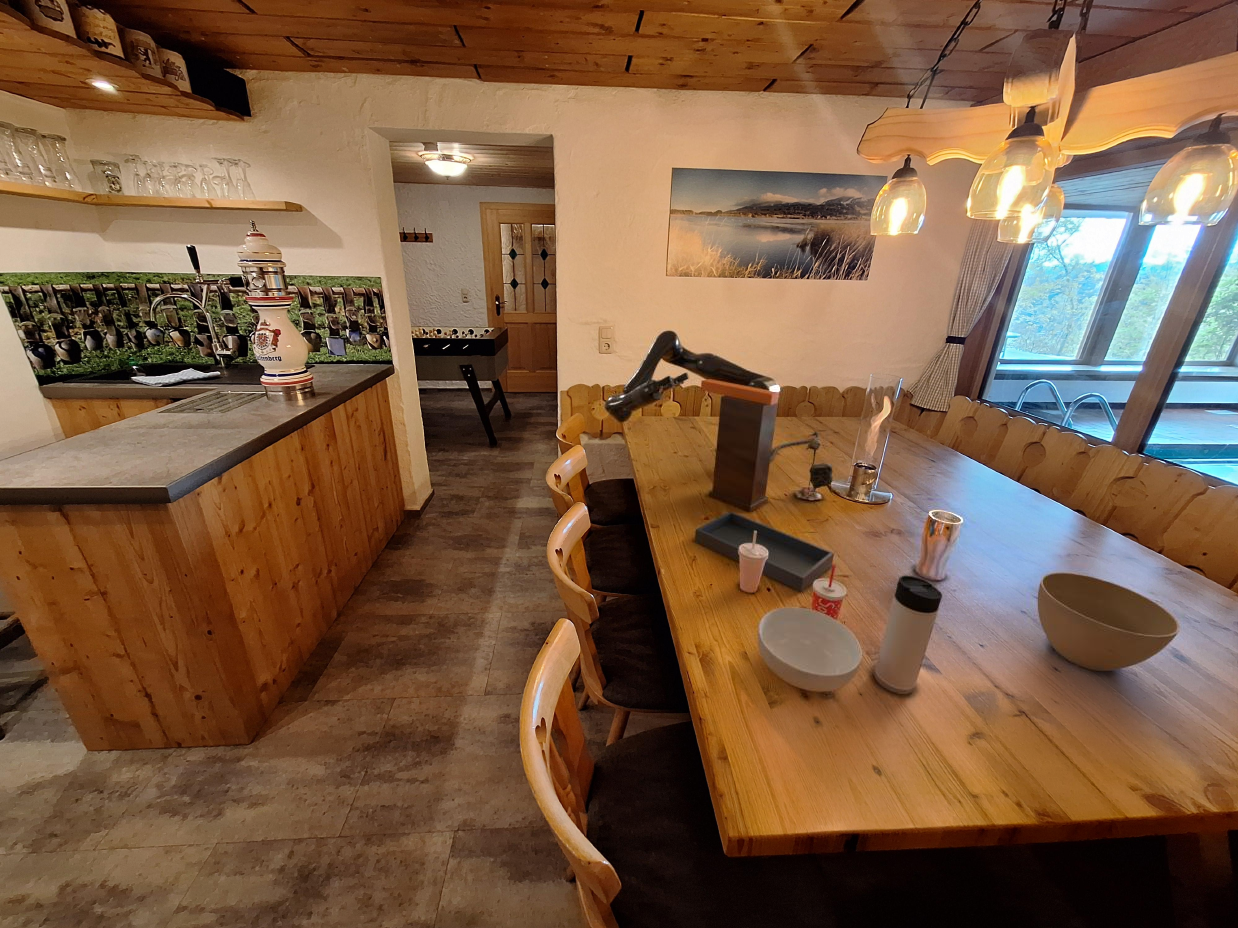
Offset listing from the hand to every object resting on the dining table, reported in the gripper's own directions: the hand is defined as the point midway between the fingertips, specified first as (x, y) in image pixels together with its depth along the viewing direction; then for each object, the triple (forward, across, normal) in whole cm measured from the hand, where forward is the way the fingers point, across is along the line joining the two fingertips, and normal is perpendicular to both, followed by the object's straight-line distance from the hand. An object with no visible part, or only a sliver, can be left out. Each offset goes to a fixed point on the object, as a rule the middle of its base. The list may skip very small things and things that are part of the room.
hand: (679, 377), depth 158 cm
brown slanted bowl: (+76, -10, +84) cm, 114 cm away
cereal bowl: (+47, -52, +67) cm, 97 cm away
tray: (+25, -23, +54) cm, 64 cm away
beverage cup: (+44, -38, +66) cm, 88 cm away
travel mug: (+57, -43, +73) cm, 102 cm away
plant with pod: (+18, +19, +51) cm, 57 cm away
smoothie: (+30, -38, +57) cm, 75 cm away
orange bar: (+18, 0, +13) cm, 22 cm away
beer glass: (+52, -1, +70) cm, 87 cm away
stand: (+6, 0, +43) cm, 43 cm away
